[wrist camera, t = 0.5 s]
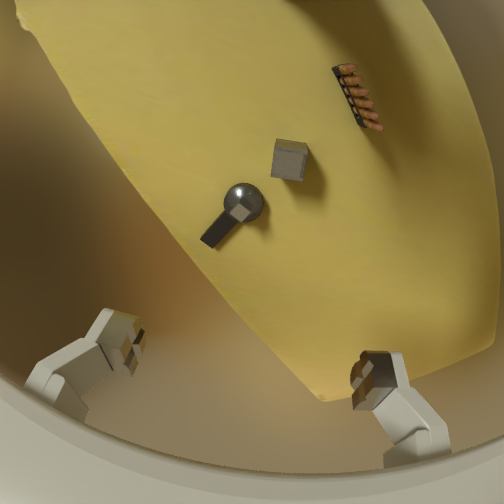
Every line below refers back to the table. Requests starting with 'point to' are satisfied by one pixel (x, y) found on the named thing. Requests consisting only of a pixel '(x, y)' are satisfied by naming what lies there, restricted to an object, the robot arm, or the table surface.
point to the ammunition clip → (357, 96)
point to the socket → (289, 160)
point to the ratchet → (235, 212)
